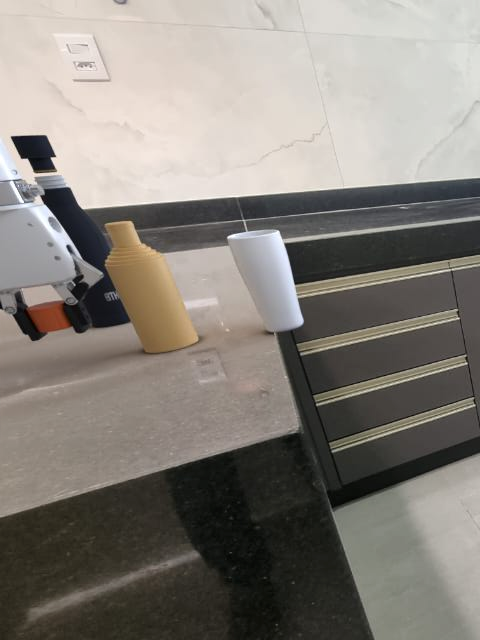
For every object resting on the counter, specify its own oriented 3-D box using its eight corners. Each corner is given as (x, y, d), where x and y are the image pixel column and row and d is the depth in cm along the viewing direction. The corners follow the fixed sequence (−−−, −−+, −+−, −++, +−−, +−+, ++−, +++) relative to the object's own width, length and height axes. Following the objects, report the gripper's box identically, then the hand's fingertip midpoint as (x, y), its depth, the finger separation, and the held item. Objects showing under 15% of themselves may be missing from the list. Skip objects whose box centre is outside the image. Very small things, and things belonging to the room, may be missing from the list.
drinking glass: (298, 318, 89) (268, 228, 83) (317, 324, 85) (287, 231, 79) (253, 331, 84) (218, 236, 78) (272, 338, 80) (236, 239, 74)
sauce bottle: (134, 351, 78) (74, 226, 70) (179, 335, 83) (128, 218, 76) (165, 354, 76) (107, 227, 69) (208, 338, 82) (159, 218, 74)
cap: (83, 324, 74) (71, 302, 72) (44, 334, 71) (30, 311, 69) (73, 320, 76) (61, 298, 74) (34, 330, 73) (21, 307, 71)
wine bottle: (112, 316, 95) (25, 136, 83) (150, 313, 96) (69, 134, 84) (81, 328, 89) (-17, 137, 77) (122, 325, 90) (31, 134, 78)
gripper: (86, 188, 72) (145, 314, 80) (-91, 203, 65) (-7, 339, 73) (64, 193, 66) (131, 328, 74) (-133, 210, 59) (-37, 357, 67)
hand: (61, 332), depth 73 cm, fingers closed on cap, 3 cm apart
